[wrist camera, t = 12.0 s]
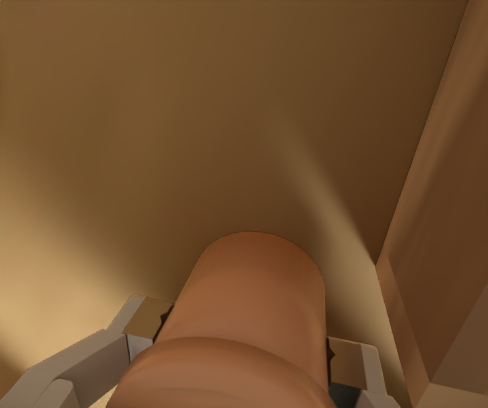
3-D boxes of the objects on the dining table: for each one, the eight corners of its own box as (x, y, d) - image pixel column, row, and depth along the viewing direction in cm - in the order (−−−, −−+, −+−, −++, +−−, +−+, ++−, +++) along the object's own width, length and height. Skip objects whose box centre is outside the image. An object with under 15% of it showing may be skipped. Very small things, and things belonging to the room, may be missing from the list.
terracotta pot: (348, 240, 11) (379, 421, 6) (317, 351, 14) (318, 543, 8) (187, 212, 12) (86, 349, 7) (188, 323, 15) (117, 482, 9)
